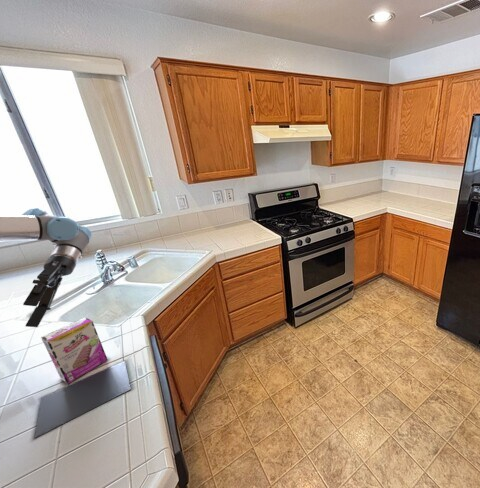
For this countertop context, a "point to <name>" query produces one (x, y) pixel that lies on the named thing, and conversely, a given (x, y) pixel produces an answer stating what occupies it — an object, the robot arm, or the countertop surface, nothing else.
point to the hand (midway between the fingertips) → (30, 316)
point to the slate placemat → (81, 397)
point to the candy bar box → (75, 349)
